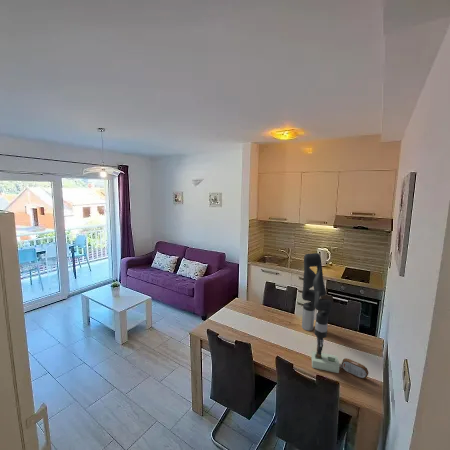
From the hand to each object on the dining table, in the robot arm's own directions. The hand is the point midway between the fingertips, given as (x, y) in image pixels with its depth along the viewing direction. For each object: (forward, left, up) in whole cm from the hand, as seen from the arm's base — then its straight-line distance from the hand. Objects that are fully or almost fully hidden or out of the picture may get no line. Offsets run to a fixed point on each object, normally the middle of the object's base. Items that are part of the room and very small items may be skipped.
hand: (319, 352), depth 165 cm
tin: (+3, +21, -9) cm, 23 cm away
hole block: (0, +4, -8) cm, 9 cm away
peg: (0, 0, -3) cm, 3 cm away
